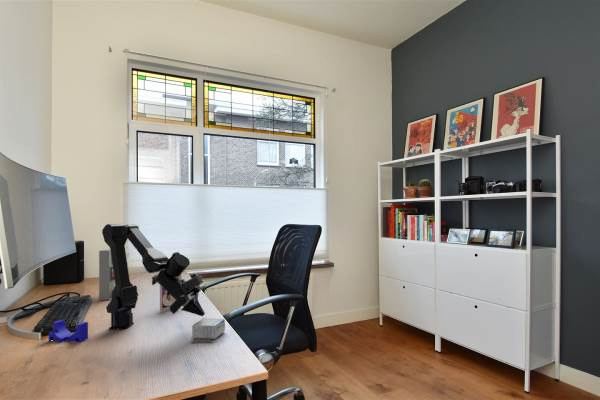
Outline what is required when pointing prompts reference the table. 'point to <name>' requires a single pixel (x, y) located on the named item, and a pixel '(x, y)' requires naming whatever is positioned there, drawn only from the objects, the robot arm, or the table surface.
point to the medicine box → (208, 328)
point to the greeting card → (166, 298)
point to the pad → (201, 340)
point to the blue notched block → (63, 334)
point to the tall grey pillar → (106, 275)
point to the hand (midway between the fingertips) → (203, 315)
